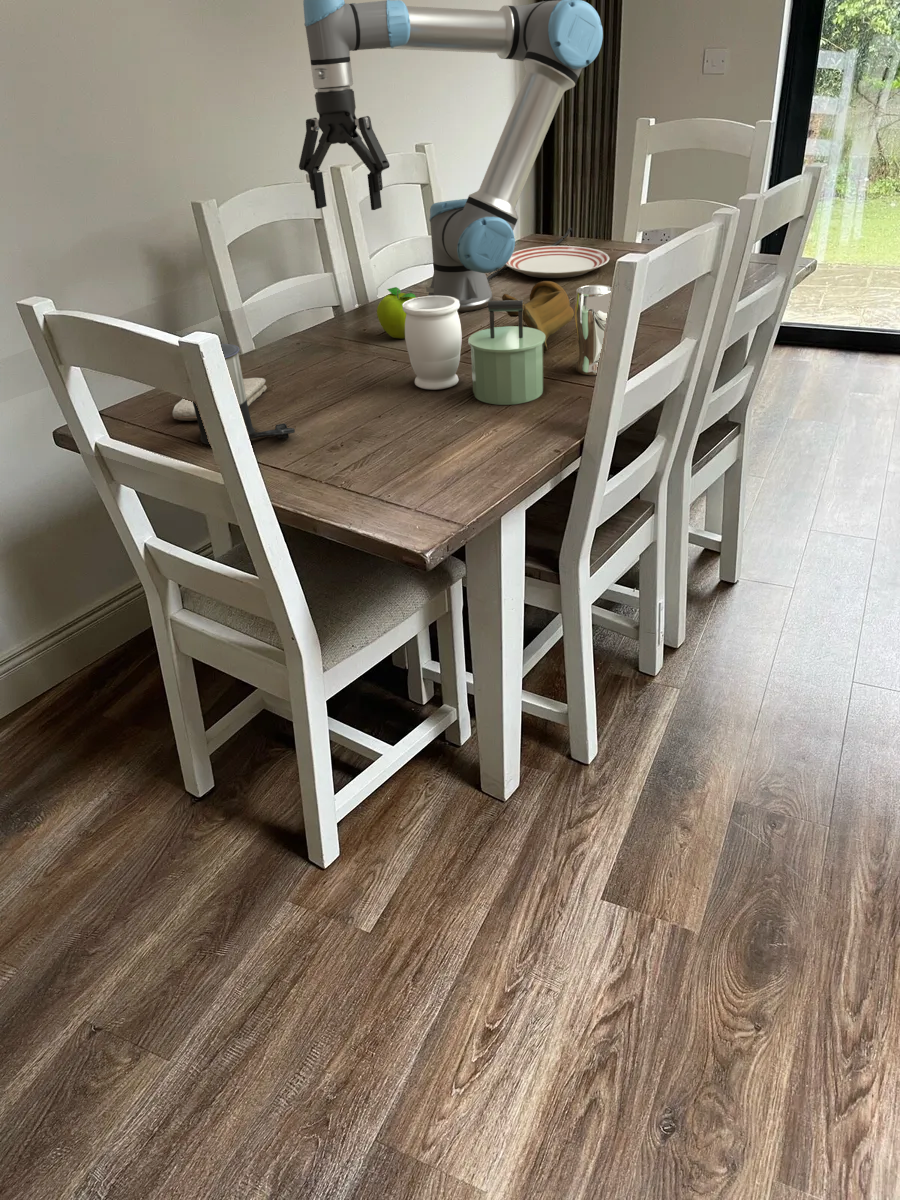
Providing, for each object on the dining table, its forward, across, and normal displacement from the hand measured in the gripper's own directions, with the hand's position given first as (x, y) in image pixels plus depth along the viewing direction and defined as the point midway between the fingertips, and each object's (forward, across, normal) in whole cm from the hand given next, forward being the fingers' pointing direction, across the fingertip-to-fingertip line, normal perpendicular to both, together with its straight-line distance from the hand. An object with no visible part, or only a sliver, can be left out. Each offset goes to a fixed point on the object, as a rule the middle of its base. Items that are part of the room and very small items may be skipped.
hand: (348, 208), depth 188 cm
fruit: (+27, +8, +3) cm, 28 cm away
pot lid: (+17, +45, -20) cm, 52 cm away
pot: (+27, +45, -20) cm, 56 cm away
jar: (+27, +30, -20) cm, 45 cm away
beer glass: (+27, +55, -4) cm, 61 cm away
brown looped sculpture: (+27, +38, +9) cm, 47 cm away
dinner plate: (+27, +16, +66) cm, 73 cm away
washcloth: (+26, -2, -44) cm, 51 cm away
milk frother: (+26, +13, -55) cm, 62 cm away
